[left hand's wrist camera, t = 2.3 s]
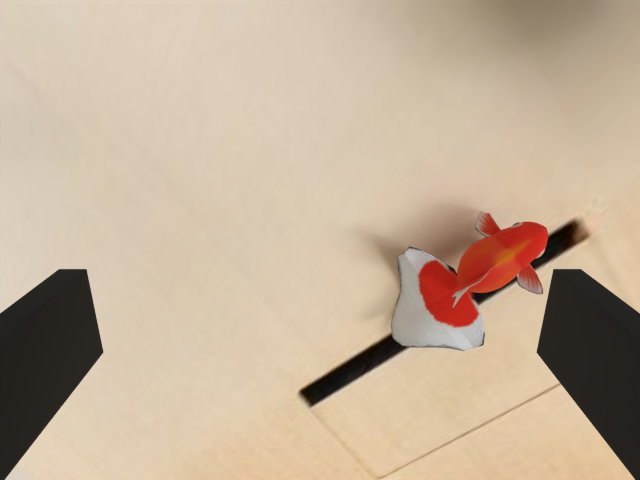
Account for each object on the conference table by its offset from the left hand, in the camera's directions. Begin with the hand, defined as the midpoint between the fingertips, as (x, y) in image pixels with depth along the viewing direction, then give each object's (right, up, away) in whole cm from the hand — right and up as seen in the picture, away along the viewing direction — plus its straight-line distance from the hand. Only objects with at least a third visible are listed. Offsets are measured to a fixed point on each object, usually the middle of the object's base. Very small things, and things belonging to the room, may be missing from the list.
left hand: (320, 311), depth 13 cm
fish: (+12, -1, +29) cm, 31 cm away
